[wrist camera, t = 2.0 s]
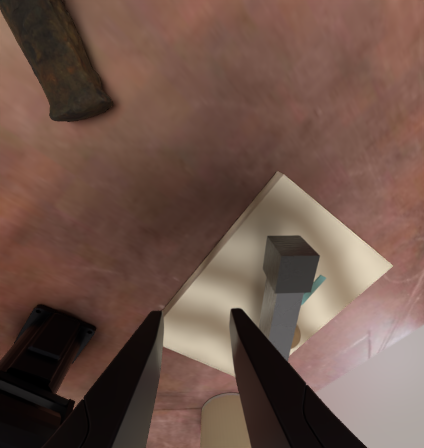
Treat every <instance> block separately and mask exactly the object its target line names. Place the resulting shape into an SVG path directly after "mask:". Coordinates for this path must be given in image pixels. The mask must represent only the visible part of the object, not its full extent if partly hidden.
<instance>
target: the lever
mask: <svg viewBox="0 0 424 448" xmlns="http://www.w3.org/2000/svg"><path fill="white" fill-rule="evenodd" d="M319 258H320V255H319V254H318V253H317V252H316V251H315V250H314V249H313V248H312V247H311V246H310V245H309V244H308V243H307V242H306V241H305V240H304V239H303V238H302V237H301V236H300V235H292V236H267V241H266V248H265V255H264V262H263V271H264V273H265V275H266V282H265V289H264V296H263V302H262V309H261V316H260V322H259V329H260V330H261V331H262V333H263V334H264V335H265V336H266V337H267V338H268V339H269V341H270V342H271V343H272V344H273V345H274V346H275V348H276V349H277V350H278V351H279V352H280V353H281V354H282V356H283V357H284V358H285V359H286V360H287V361H288V358H289V354H290V350H291V345H292V341H293V337H294V333H295V329H296V324H297V320H298V316H299V312H300V308H301V303H302V299H303V295H304V293H311V290H312V286H313V282H314V278H315V274H316V270H317V266H318V262H319Z"/></svg>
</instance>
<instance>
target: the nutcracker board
mask: <svg viewBox="0 0 424 448" xmlns="http://www.w3.org/2000/svg"><path fill="white" fill-rule="evenodd" d="M292 235H300V236H301V237H302V238H303V239H304V240H305V241H306V242H307V243H308V244H309V245H310V246H311V247H312V248H313V249H314V250H315V251H316V252H317V253H318V254H319V255H320V258H319V262H318V266H317V270H316V274H315V278H314V282H313V286H312V290H311V293H304V295H303V299H302V303H301V308H300V312H299V316H298V320H297V324H296V329H295V333H294V337H293V341H292V345H291V350H290V354H292V353H293V352H294V351H295V350H296V349H297V348H299V347H300V346H301V345H302V344H303V343H304V342H306V341H307V340H308V339H309V338H310V337H311V336H313V335H314V334H315V333H316V332H317V331H318V330H319V329H321V328H322V327H323V326H324V325H325V324H326V323H328V322H329V321H330V320H331V319H332V318H333V317H335V316H336V315H337V314H338V313H339V312H340V311H341V310H343V309H344V308H345V307H346V306H347V305H348V304H350V303H351V302H352V301H353V300H354V299H355V298H357V297H358V296H359V295H360V294H361V293H362V292H364V291H365V290H366V289H367V288H368V287H369V286H370V285H372V284H373V283H374V282H375V281H376V280H377V279H379V278H380V277H381V276H382V275H383V274H384V273H386V272H387V271H388V270H389V269H390V268H391V267H393V265H392V264H390V263H389V262H388V261H387V260H386V259H384V258H383V257H382V256H381V255H380V254H378V253H377V252H376V251H375V250H374V249H372V248H371V247H370V246H369V245H368V244H366V243H365V242H364V241H363V240H362V239H360V238H359V237H358V236H357V235H356V234H355V233H353V232H352V231H351V230H350V229H349V228H347V227H346V226H345V225H344V224H343V223H341V222H340V221H339V220H338V219H337V218H335V217H334V216H333V215H332V214H331V213H329V212H328V211H327V210H326V209H325V208H323V207H322V206H321V205H320V204H319V203H317V202H316V201H315V200H314V199H313V198H311V197H310V196H309V195H308V194H307V193H305V192H304V191H303V190H302V189H301V188H300V187H298V186H297V185H296V184H295V183H294V182H292V181H291V180H290V179H289V178H288V177H286V176H285V175H284V174H282V173H280V172H278V171H277V172H276V173H275V175H274V176H273V177H272V178H271V180H270V181H269V182H268V183H267V184H266V186H265V187H264V188H263V189H262V190H261V192H260V193H259V194H258V195H257V197H256V198H255V199H254V200H253V201H252V203H251V204H250V205H249V206H248V207H247V209H246V210H245V211H244V212H243V213H242V215H241V216H240V217H239V218H238V220H237V221H236V222H235V223H234V224H233V226H232V227H231V228H230V229H229V230H228V232H227V233H226V234H225V235H224V237H223V238H222V239H221V240H220V241H219V243H218V244H217V245H216V246H215V247H214V249H213V250H212V251H211V252H210V254H209V255H208V256H207V257H206V258H205V260H204V261H203V262H202V263H201V264H200V266H199V267H198V268H197V269H196V271H195V272H194V273H193V274H192V275H191V277H190V278H189V279H188V280H187V281H186V283H185V284H184V285H183V286H182V288H181V289H180V290H179V291H178V292H177V294H176V295H175V296H174V297H173V298H172V300H171V301H170V302H169V303H168V304H167V306H166V307H165V308H164V309H163V311H162V312H163V319H164V338H163V346H164V347H166V348H168V349H171V350H173V351H175V352H178V353H180V354H182V355H185V356H187V357H190V358H192V359H194V360H197V361H199V362H201V363H204V364H206V365H208V366H211V367H213V368H216V369H218V370H220V371H223V372H225V373H227V374H230V375H232V376H234V377H235V372H234V365H233V357H232V348H231V340H230V331H229V321H230V310H231V309H232V308H241V309H243V311H244V312H245V313H246V314H247V315H248V316H249V317H250V319H251V320H252V321H253V322H254V323H255V324H256V326H257V327H258V328H259V322H260V316H261V309H262V302H263V296H264V289H265V282H266V275H265V273H264V271H263V262H264V255H265V248H266V241H267V236H292ZM290 354H289V355H290Z"/></svg>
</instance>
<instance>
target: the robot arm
mask: <svg viewBox="0 0 424 448" xmlns="http://www.w3.org/2000/svg"><path fill="white" fill-rule="evenodd" d="M95 331H96V328H95V327H94V326H91V325H89V324H86V323H84V322H81V321H79V320H77V319H74V318H72V317H69V316H67V315H64V314H62V313H60V312H57V311H55V310H52V309H50V308H47V307H45V306H42V305H37V306H36V307H35V308H34V309H33V311H32V313H31V315H30V316H29V318H28V320H27V321H26V323H25V325H24V327H23V328H22V330H21V332H20V333H19V335H18V337H17V339H16V340H15V342H14V345H13V346H12V347H11V348H10V350H9V351H8V352H7V353H6V354H5V356H4V357H3V358H2V359H1V360H0V448H146V443H147V438H148V433H149V428H150V423H151V418H152V413H153V408H154V403H155V398H156V393H157V388H158V383H159V378H160V370H161V360H162V349H163V338H164V319H163V312H162V311H151V312H150V314H149V315H148V316H147V317H146V319H145V320H144V321H143V322H142V324H141V325H140V326H139V328H138V329H137V330H136V331H135V333H134V334H133V335H132V336H131V338H130V339H129V340H128V342H127V343H126V344H125V345H124V347H123V348H122V349H121V350H120V352H119V353H118V354H117V355H116V357H115V358H114V359H113V361H112V362H111V363H110V364H109V366H108V367H107V368H106V369H105V371H104V372H103V373H102V374H101V376H100V377H99V378H98V380H97V381H96V382H95V383H94V385H93V386H92V387H91V388H90V390H89V391H88V392H87V393H86V395H85V396H84V400H83V399H82V400H81V401H80V402H79V403H78V405H77V406H76V407H75V409H74V410H73V407H74V404H75V401H74V400H71V399H69V400H68V399H66V398H64V397H61V396H59V395H57V394H56V393H57V391H58V389H59V387H60V385H61V383H62V381H63V379H64V377H65V376H66V374H67V372H68V370H69V368H70V366H71V364H72V363H73V362H74V361H75V360H76V358H77V357H78V355H79V354H80V353H81V351H82V350H83V349H84V347H85V346H86V344H87V343H88V342H89V340H90V339H91V338H92V336H93V335H94V333H95ZM229 331H230V340H231V348H232V357H233V365H234V372H235V377H236V382H237V386H238V391H239V395H240V400H241V404H242V408H243V413H244V417H245V422H246V426H247V431H248V435H249V439H250V444H251V448H367V447H366V446H365V445H364V444H363V443H362V442H361V441H360V440H359V439H358V438H357V437H356V436H355V435H354V434H353V433H352V432H351V431H350V430H349V429H348V428H347V427H346V426H345V425H344V424H343V423H342V422H341V421H340V420H339V419H338V418H337V417H336V416H335V415H334V414H333V413H332V412H331V411H330V409H329V408H328V407H327V406H326V405H325V404H324V403H323V402H322V400H321V399H320V398H319V397H318V396H317V395H316V394H315V393H314V391H313V390H312V389H311V388H310V387H309V386H308V385H306V382H305V381H304V380H303V379H302V378H301V376H300V375H299V374H298V373H297V372H296V371H295V370H294V368H293V367H292V366H291V365H290V364H289V363H288V361H287V360H286V359H285V358H284V357H283V356H282V354H281V353H280V352H279V351H278V350H277V349H276V348H275V346H274V345H273V344H272V343H271V342H270V341H269V339H268V338H267V337H266V336H265V335H264V334H263V333H262V331H261V330H260V329H259V328H258V327H257V326H256V324H255V323H254V322H253V321H252V320H251V319H250V317H249V316H248V315H247V314H246V313H245V312H244V311H243V309H241V308H232V309H231V310H230V321H229Z"/></svg>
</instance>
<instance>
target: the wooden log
mask: <svg viewBox="0 0 424 448" xmlns="http://www.w3.org/2000/svg"><path fill="white" fill-rule="evenodd" d="M0 10H1V12H2V14H3V16H4V18H5V20H6V22H7V23H8V25H9V27H10V29H11V31H12V33H13V35H14V37H15V39H16V41H17V42H18V44H19V46H20V48H21V50H22V51H23V53H24V55H25V57H26V58H27V60H28V62H29V64H30V65H31V67H32V69H33V71H34V74H35V75H36V77H37V79H38V80H39V83H40V84H41V86H42V88H43V90H44V92H45V94H46V97H47V99H48V101H49V104H50V114H49V116H50V118H51V119H52V120H54V121H67V122H71V121H78V120H82V119H86V118H89V117H92V116H95V115H98V114H100V113H103V112H106V110H108V109H109V108H110V107H111V106H113V102H112V101H111V99H110V98H109V96H107V95H106V94H105V93H104V92H103V91H102V84H101V81H100V77H99V75H98V74H97V73H96V72H94V71H93V69H92V68H91V65H90V62H89V59H88V57H87V55H86V52H85V50H84V48H83V44H82V41H81V39H80V37H79V35H78V33H77V31H76V29H75V25H74V23H73V21H72V19H71V17H70V15H69V13H68V12H66V10H65V8H64V6H63V4H62V1H61V0H0Z"/></svg>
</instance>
